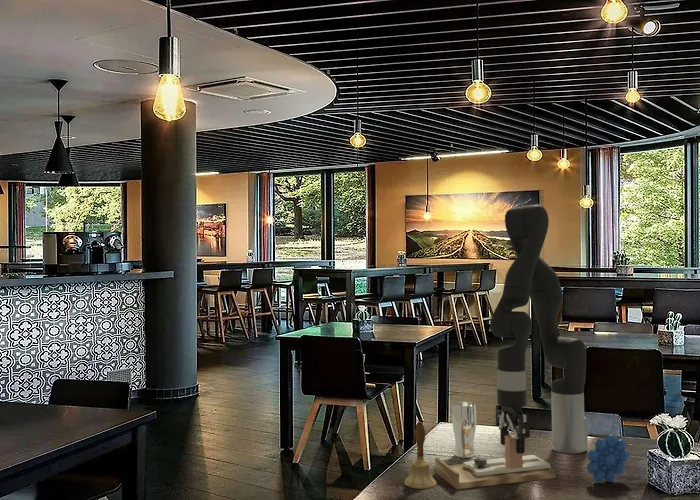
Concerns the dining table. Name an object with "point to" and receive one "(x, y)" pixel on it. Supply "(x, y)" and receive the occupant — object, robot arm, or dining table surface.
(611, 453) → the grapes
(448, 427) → the dining table surface
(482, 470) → the panel
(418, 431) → the hand bell
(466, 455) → the beer glass
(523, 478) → the boss board
